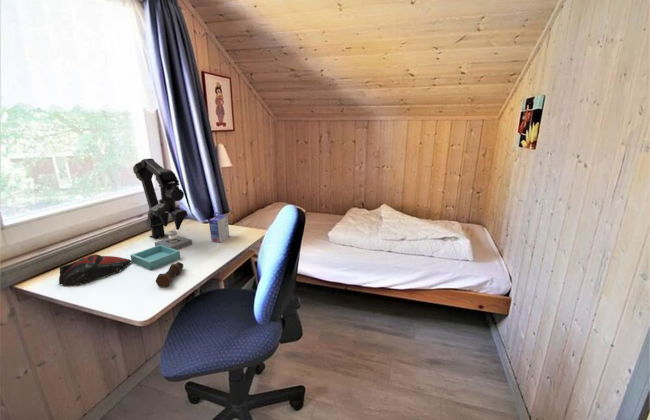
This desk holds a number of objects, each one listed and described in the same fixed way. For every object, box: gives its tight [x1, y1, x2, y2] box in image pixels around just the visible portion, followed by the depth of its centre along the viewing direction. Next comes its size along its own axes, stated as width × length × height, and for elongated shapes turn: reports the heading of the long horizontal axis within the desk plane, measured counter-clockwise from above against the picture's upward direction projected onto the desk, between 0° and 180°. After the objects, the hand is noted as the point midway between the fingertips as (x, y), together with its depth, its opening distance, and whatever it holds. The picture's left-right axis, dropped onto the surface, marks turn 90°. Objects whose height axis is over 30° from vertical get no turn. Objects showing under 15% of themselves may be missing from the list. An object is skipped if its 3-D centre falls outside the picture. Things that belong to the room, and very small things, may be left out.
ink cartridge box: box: [208, 211, 230, 244], centre depth 164 cm, size 10×6×14 cm, turn 167°
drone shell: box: [58, 253, 132, 287], centre depth 126 cm, size 21×20×8 cm
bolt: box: [155, 261, 184, 288], centre depth 125 cm, size 6×5×15 cm
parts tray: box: [129, 245, 182, 271], centre depth 139 cm, size 14×14×4 cm
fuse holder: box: [154, 234, 193, 250], centre depth 156 cm, size 12×12×2 cm
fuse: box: [167, 230, 178, 244], centre depth 156 cm, size 4×4×7 cm
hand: (171, 228), depth 154 cm, fingers open, 9 cm apart
